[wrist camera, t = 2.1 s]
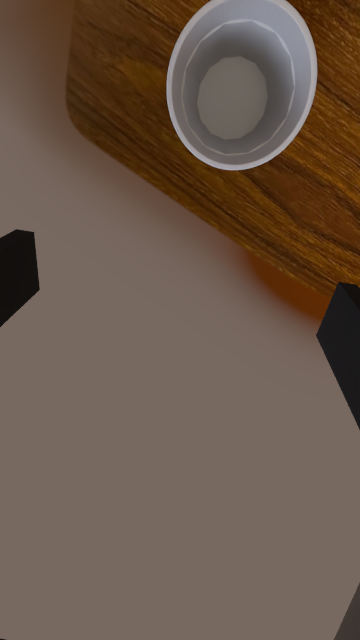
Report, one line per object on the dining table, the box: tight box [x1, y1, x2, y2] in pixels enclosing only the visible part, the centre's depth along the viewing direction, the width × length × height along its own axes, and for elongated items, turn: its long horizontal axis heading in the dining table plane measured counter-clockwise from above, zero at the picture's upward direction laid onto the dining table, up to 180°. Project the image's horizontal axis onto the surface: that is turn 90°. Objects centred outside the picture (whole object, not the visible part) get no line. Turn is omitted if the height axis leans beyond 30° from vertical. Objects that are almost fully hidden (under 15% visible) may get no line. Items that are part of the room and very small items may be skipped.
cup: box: [167, 0, 317, 170], centre depth 23 cm, size 8×8×12 cm
